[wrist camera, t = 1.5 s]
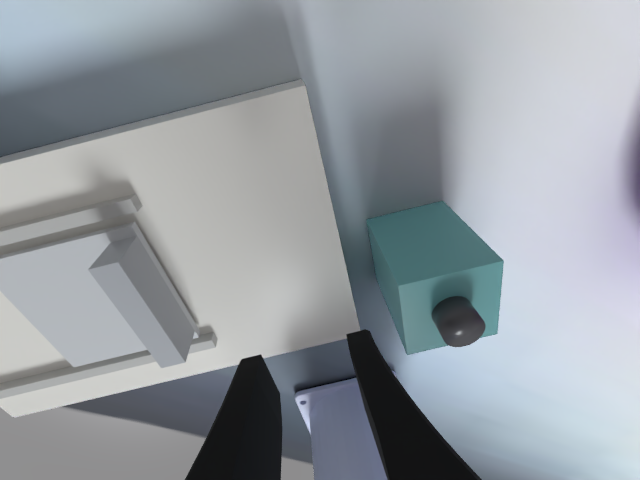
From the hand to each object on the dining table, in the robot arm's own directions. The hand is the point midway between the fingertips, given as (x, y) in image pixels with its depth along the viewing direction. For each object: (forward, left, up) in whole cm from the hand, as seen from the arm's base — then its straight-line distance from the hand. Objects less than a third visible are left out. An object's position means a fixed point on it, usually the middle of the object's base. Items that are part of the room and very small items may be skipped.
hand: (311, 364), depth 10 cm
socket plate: (0, +9, -9) cm, 13 cm away
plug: (-3, -6, -10) cm, 12 cm away
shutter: (0, +10, -7) cm, 12 cm away
